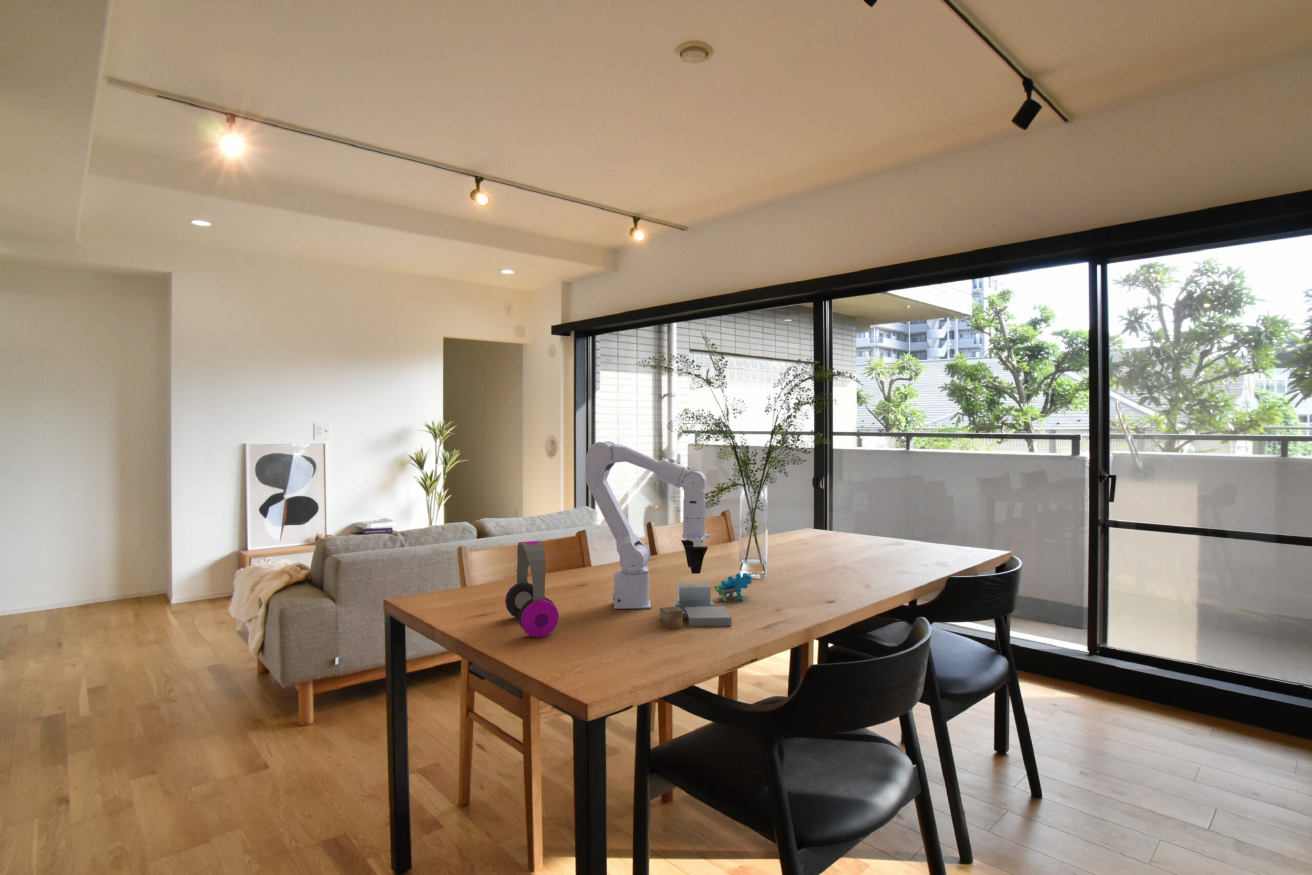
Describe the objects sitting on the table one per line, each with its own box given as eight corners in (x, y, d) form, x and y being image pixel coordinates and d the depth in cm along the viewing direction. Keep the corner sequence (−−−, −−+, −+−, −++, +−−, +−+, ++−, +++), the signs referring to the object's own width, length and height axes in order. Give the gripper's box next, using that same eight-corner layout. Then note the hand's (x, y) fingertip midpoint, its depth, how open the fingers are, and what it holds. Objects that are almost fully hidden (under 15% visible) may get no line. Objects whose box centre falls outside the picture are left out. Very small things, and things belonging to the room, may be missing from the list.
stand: (689, 626, 159) (689, 618, 159) (684, 614, 169) (684, 606, 169) (731, 625, 160) (731, 617, 160) (724, 614, 170) (724, 606, 170)
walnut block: (666, 629, 157) (666, 612, 157) (661, 624, 161) (661, 607, 161) (682, 627, 159) (682, 610, 159) (676, 623, 162) (676, 606, 162)
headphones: (503, 617, 167) (503, 535, 166) (538, 613, 170) (538, 533, 170) (521, 641, 147) (521, 550, 147) (561, 637, 151) (561, 547, 151)
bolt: (660, 621, 163) (660, 609, 163) (659, 618, 166) (659, 606, 166) (685, 620, 164) (685, 609, 164) (683, 618, 167) (683, 606, 167)
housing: (675, 610, 173) (675, 587, 173) (673, 606, 177) (673, 583, 177) (714, 610, 173) (714, 587, 173) (711, 606, 178) (711, 583, 178)
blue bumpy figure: (745, 587, 192) (753, 567, 185) (754, 605, 188) (762, 586, 181) (709, 595, 189) (716, 575, 181) (717, 614, 185) (724, 594, 178)
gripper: (713, 521, 168) (713, 576, 168) (705, 514, 183) (705, 564, 183) (685, 521, 168) (685, 576, 168) (679, 514, 182) (679, 564, 182)
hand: (694, 570), depth 175 cm, fingers open, 7 cm apart
